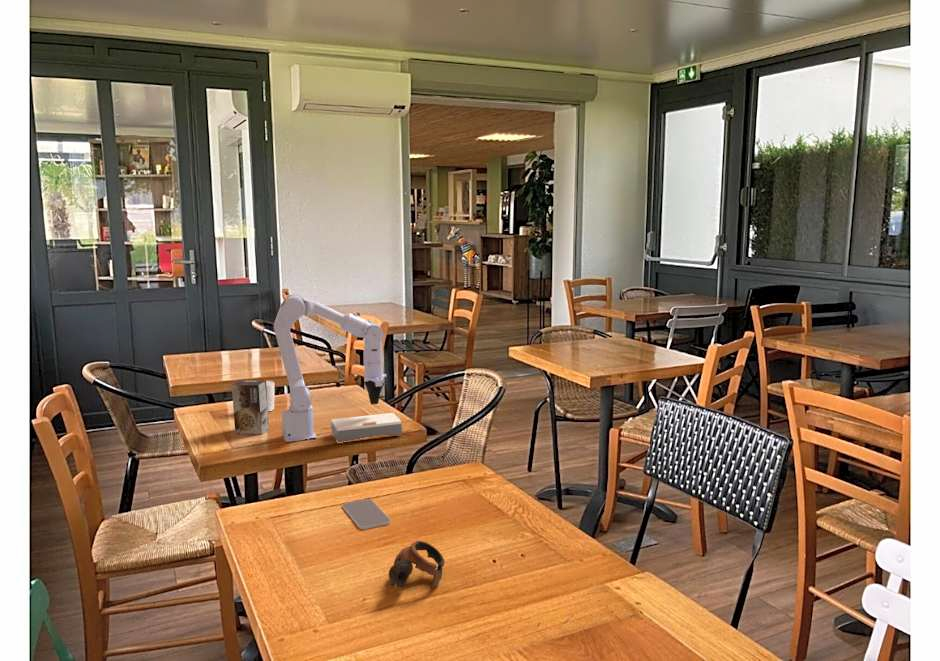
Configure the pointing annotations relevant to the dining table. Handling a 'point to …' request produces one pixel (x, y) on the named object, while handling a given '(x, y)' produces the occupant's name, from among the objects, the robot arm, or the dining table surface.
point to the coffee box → (250, 406)
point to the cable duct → (366, 432)
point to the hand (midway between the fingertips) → (374, 403)
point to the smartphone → (366, 514)
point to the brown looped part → (409, 556)
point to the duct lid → (365, 421)
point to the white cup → (270, 395)
